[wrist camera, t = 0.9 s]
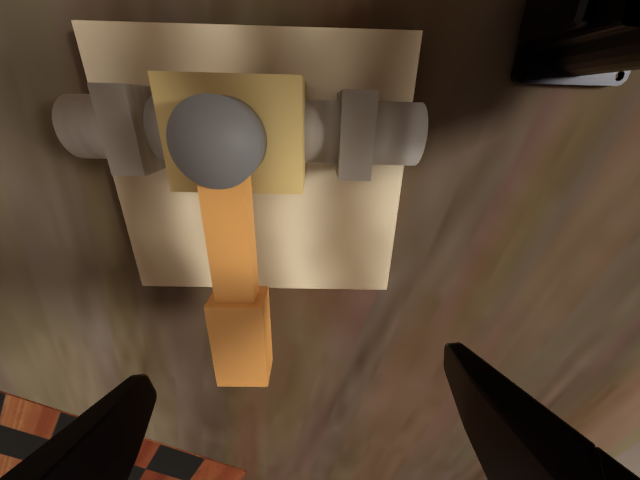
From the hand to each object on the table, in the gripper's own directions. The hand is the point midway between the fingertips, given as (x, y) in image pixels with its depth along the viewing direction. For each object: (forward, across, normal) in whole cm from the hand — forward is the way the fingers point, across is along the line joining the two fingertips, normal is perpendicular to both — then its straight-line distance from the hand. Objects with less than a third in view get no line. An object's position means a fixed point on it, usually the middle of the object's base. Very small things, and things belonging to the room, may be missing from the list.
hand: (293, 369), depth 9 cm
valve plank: (+13, +3, -3) cm, 14 cm away
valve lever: (+6, +3, -1) cm, 7 cm away
